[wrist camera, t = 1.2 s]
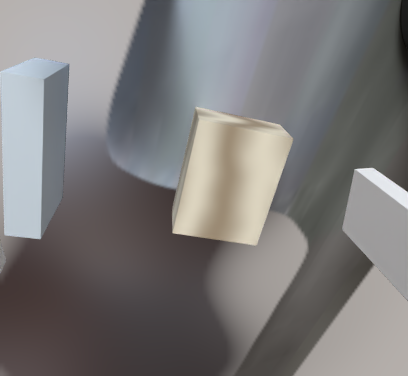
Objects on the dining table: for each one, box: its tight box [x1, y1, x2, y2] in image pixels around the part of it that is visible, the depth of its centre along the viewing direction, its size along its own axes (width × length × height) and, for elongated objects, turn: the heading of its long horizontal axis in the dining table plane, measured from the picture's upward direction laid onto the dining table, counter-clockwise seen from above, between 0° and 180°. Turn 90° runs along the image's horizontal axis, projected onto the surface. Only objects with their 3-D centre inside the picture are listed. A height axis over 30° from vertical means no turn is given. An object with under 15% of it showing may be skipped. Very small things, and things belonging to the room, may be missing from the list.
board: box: [0, 58, 69, 239], centre depth 34 cm, size 3×14×8 cm, turn 169°
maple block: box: [172, 107, 293, 245], centre depth 39 cm, size 9×12×5 cm
